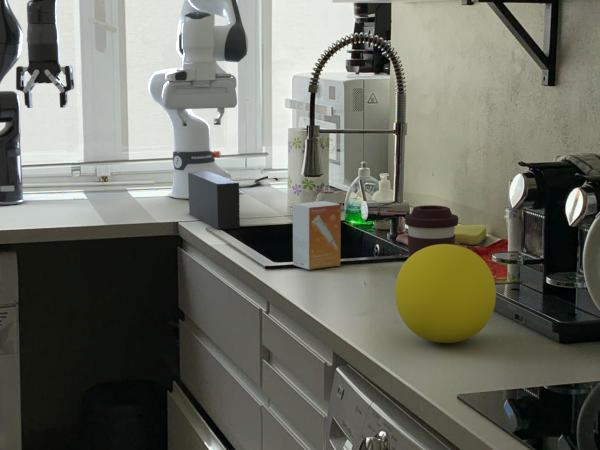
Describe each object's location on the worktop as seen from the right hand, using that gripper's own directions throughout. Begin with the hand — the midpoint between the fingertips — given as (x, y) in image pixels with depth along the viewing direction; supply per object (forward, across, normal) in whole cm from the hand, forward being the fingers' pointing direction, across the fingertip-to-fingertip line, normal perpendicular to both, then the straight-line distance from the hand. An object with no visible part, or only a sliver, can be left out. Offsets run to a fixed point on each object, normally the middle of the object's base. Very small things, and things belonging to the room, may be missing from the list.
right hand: (200, 125), depth 282 cm
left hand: (-6, +41, +3) cm, 42 cm away
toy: (+25, 0, +136) cm, 138 cm away
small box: (+25, -3, +76) cm, 80 cm away
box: (+24, 0, +10) cm, 27 cm away
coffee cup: (+25, -16, +102) cm, 106 cm away
